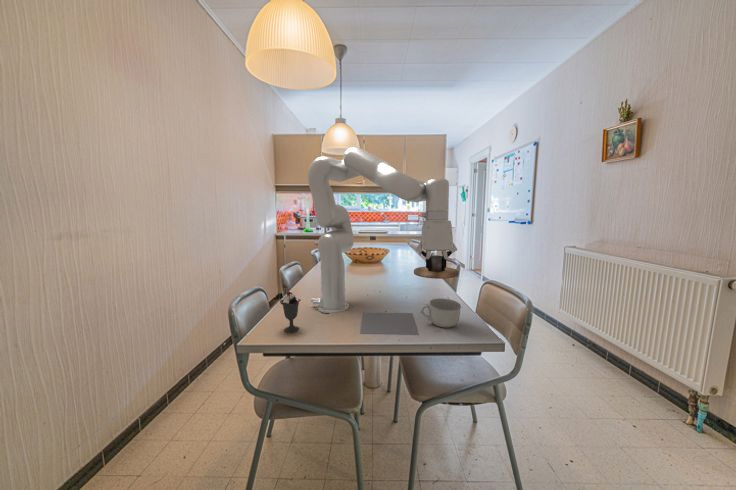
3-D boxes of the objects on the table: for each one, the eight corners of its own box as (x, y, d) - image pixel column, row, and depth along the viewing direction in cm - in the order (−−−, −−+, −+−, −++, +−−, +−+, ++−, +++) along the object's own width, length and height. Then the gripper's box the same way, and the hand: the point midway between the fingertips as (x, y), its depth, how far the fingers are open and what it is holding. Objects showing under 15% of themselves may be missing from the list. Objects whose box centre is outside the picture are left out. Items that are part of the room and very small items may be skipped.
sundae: (284, 325, 101) (283, 283, 99) (303, 325, 100) (302, 283, 98) (278, 333, 94) (276, 289, 92) (298, 333, 94) (297, 289, 92)
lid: (416, 278, 92) (416, 260, 91) (411, 269, 107) (411, 253, 106) (464, 278, 91) (464, 260, 90) (452, 268, 106) (452, 252, 105)
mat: (359, 335, 93) (359, 333, 93) (363, 313, 112) (363, 312, 112) (418, 336, 92) (419, 334, 92) (412, 314, 111) (412, 313, 111)
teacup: (456, 319, 106) (457, 298, 105) (463, 332, 95) (464, 308, 94) (418, 318, 107) (418, 297, 106) (420, 330, 97) (421, 307, 96)
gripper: (412, 217, 93) (412, 272, 95) (465, 216, 92) (463, 272, 95) (410, 216, 100) (410, 267, 103) (459, 216, 100) (457, 267, 102)
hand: (435, 269), depth 99 cm, fingers closed on lid, 4 cm apart
